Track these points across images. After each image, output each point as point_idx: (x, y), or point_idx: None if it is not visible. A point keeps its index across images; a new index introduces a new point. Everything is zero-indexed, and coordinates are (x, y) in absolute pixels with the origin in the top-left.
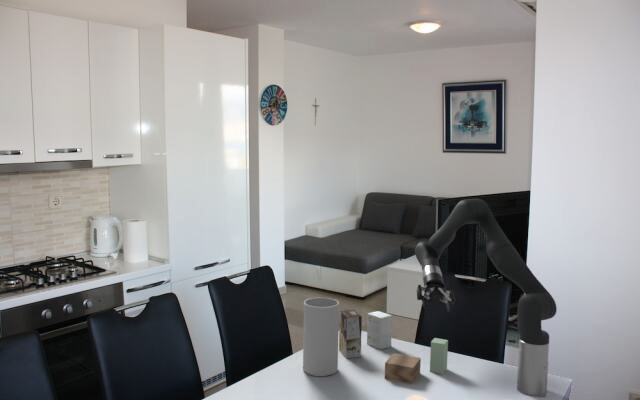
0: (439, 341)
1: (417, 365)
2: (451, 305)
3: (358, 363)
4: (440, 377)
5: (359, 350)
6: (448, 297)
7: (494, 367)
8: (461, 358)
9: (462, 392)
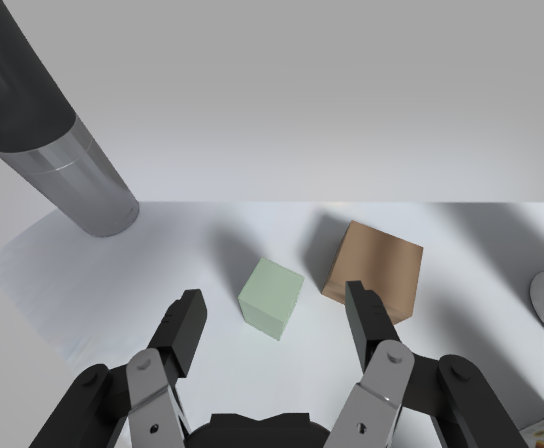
0: (273, 283)
1: (337, 256)
2: (164, 322)
3: (498, 365)
4: None
5: (540, 435)
6: (135, 395)
7: (104, 338)
8: None
9: (249, 208)
